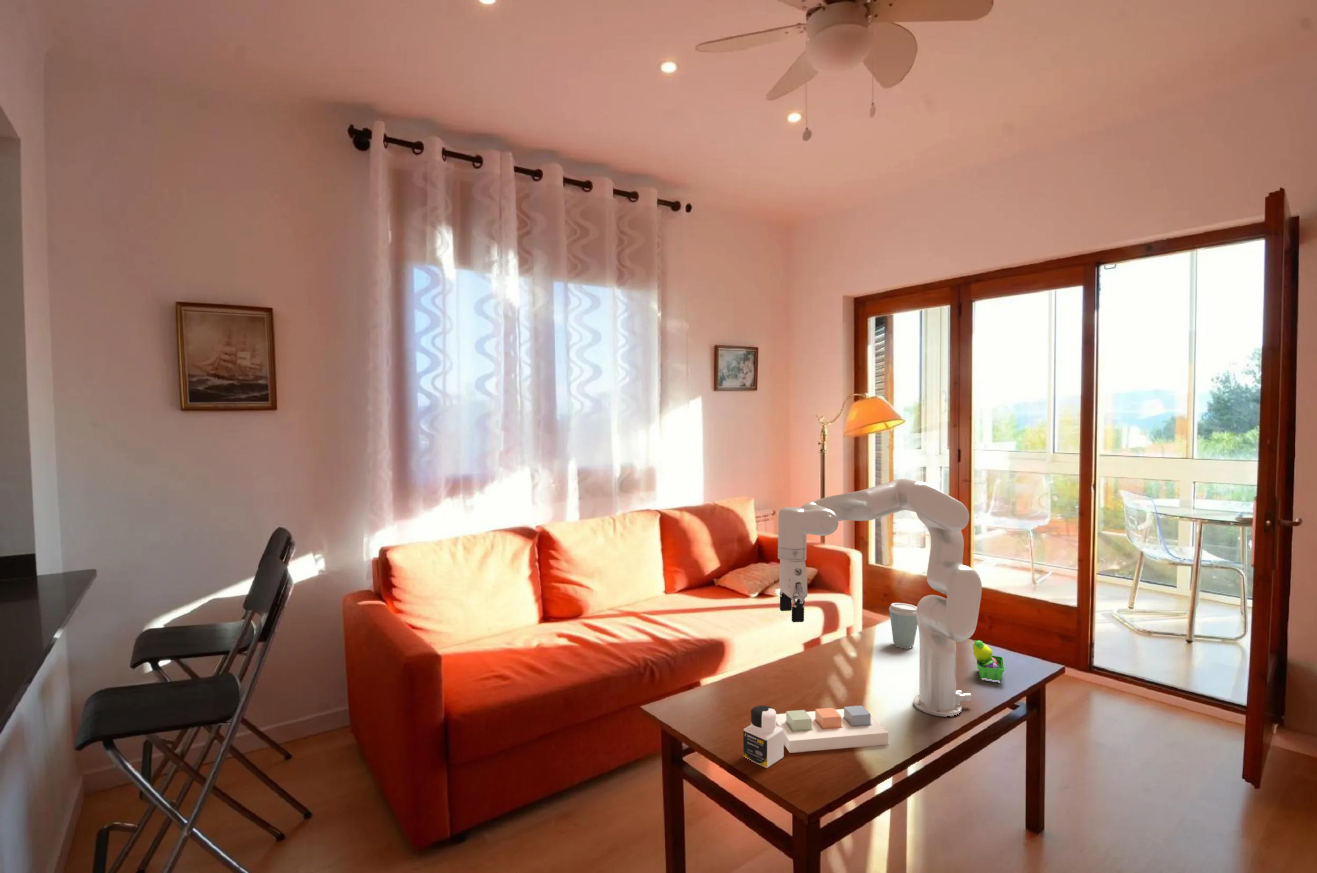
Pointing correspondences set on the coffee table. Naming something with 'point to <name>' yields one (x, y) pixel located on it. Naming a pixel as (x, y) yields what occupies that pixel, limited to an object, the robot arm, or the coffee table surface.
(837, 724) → the key terracotta
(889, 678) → the coffee table surface
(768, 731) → the medicine bottle
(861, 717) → the key slate
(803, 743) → the key board
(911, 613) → the disposable coffee cup
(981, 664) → the fruit basket
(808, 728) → the key sage
